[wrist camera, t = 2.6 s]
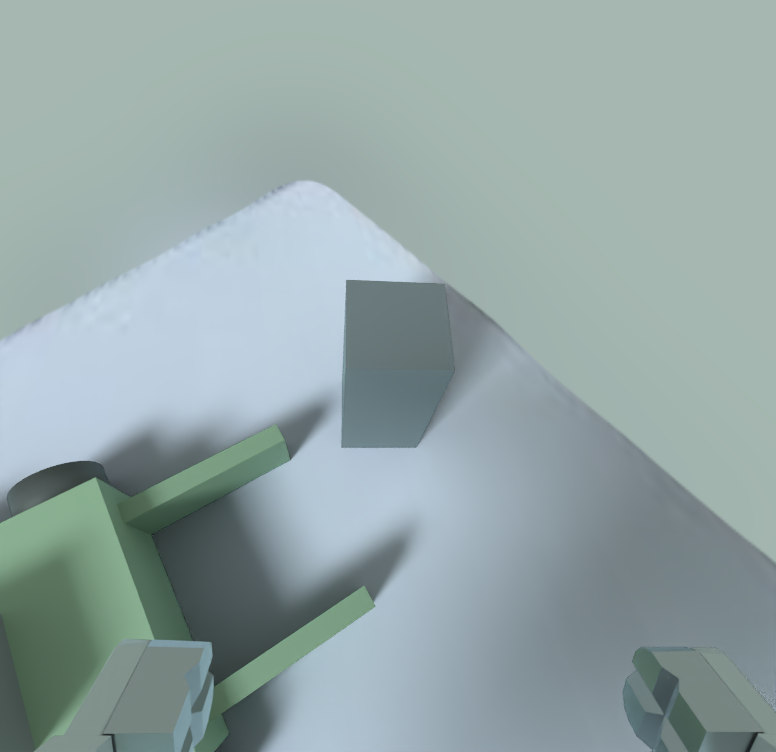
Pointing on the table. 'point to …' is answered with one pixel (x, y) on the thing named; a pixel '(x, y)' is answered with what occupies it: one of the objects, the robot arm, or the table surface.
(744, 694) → the robot arm
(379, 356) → the tall gray column
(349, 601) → the green toy forklift
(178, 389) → the table surface
